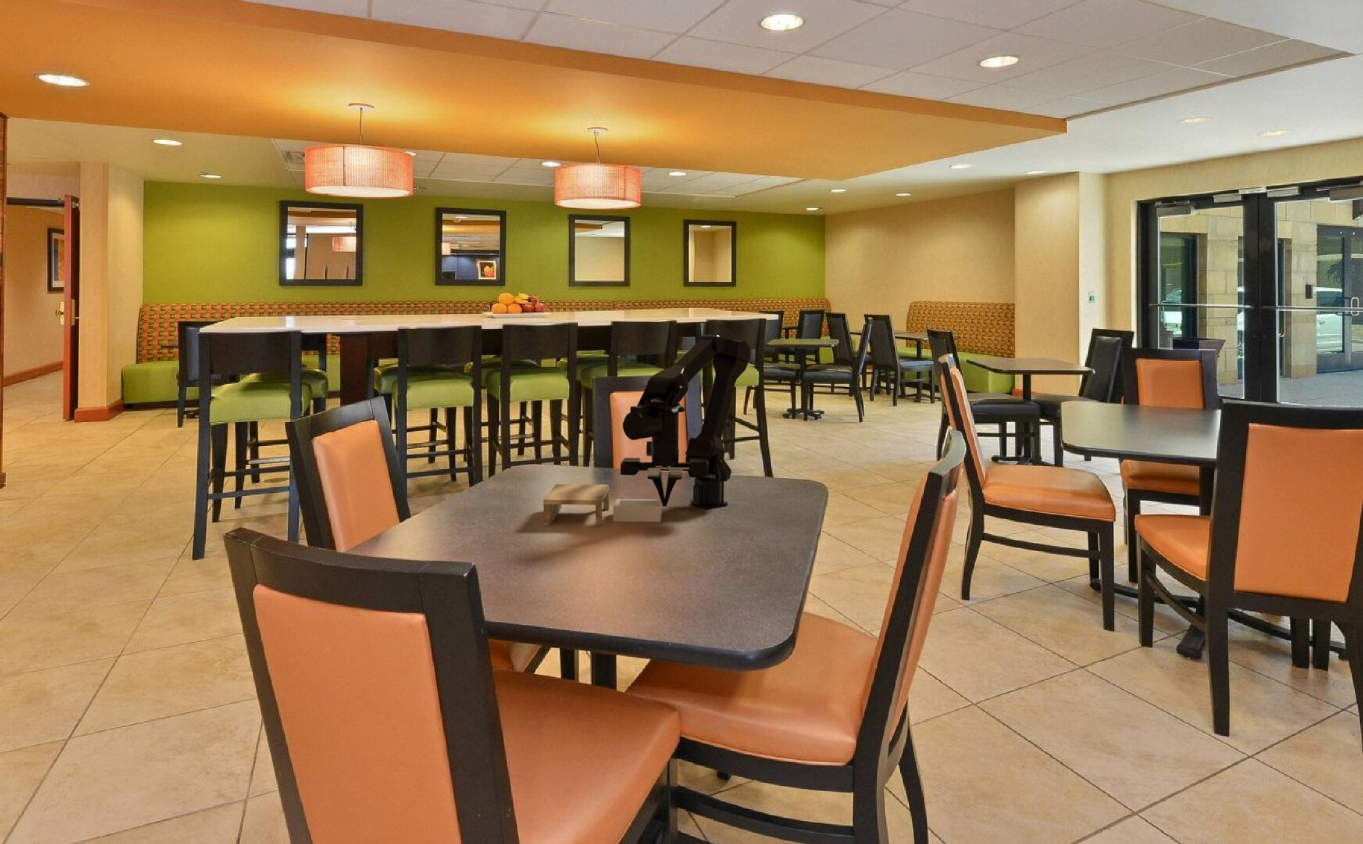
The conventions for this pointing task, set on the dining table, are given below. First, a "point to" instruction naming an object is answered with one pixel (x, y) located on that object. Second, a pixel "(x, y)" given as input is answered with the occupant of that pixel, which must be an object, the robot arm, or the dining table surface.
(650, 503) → the beige tray
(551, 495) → the oak shelf
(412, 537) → the dining table surface
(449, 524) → the dining table surface
